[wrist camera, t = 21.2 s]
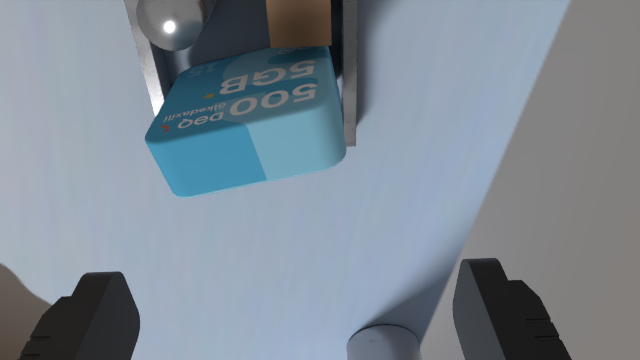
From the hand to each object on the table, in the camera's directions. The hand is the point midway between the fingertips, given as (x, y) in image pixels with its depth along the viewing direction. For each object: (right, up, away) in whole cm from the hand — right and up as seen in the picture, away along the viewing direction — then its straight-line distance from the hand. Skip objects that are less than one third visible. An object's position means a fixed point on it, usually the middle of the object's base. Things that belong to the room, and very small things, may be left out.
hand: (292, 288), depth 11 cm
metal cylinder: (-9, +16, +23) cm, 29 cm away
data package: (-4, +11, +27) cm, 29 cm away
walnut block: (-1, +16, +23) cm, 28 cm away
